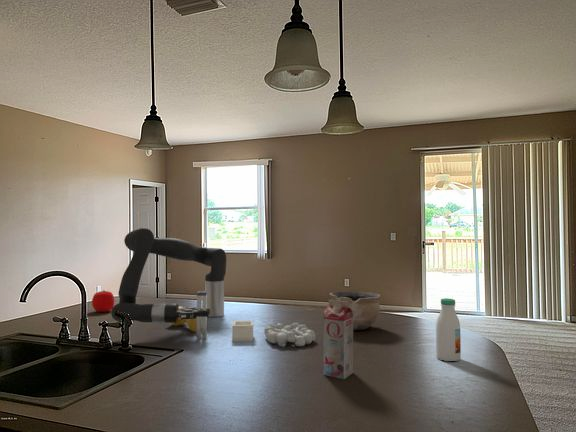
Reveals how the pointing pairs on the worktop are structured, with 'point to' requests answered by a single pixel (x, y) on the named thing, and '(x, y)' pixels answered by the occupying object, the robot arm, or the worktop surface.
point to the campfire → (289, 334)
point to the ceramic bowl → (360, 307)
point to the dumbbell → (190, 322)
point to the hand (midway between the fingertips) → (209, 312)
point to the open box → (242, 331)
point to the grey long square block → (202, 320)
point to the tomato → (103, 301)
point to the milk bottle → (448, 332)
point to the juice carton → (338, 339)
